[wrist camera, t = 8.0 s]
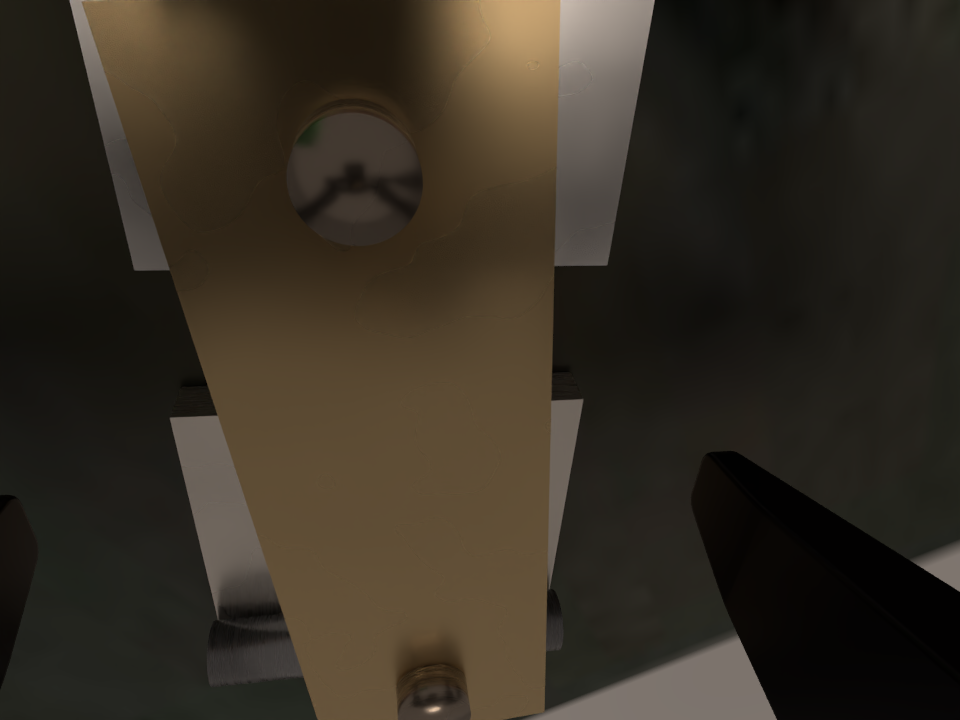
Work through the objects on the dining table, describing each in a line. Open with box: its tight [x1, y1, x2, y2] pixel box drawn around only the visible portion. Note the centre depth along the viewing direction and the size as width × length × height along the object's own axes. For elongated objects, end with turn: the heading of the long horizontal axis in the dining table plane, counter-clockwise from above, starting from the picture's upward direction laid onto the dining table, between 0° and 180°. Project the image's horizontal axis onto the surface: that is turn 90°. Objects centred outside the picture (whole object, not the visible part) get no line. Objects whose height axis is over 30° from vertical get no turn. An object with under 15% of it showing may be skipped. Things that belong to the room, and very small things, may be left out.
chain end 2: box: [170, 372, 583, 687], centre depth 15 cm, size 8×7×2 cm
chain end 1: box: [70, 0, 655, 271], centre depth 9 cm, size 8×7×2 cm
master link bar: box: [82, 0, 560, 720], centre depth 10 cm, size 4×12×5 cm, turn 2°
